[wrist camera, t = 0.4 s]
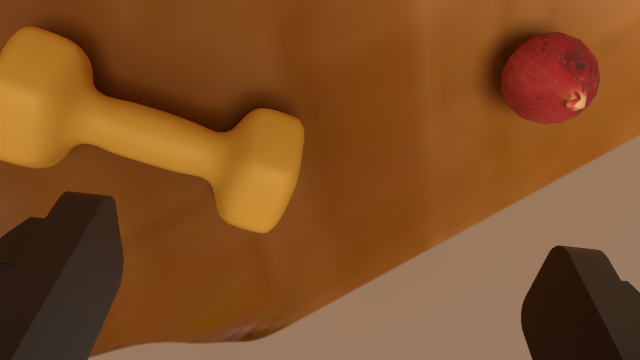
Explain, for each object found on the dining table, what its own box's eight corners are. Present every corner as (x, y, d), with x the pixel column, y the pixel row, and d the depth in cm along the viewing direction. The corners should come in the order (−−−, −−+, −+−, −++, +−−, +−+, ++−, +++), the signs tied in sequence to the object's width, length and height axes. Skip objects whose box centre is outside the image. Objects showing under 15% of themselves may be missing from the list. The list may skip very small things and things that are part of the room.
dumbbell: (311, 103, 38) (321, 152, 31) (268, 203, 42) (268, 267, 35) (36, 1, 33) (-28, 32, 26) (16, 125, 37) (-45, 180, 30)
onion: (509, 10, 36) (567, 40, 29) (579, 35, 37) (651, 69, 30) (471, 88, 38) (516, 133, 31) (538, 110, 39) (596, 157, 32)
